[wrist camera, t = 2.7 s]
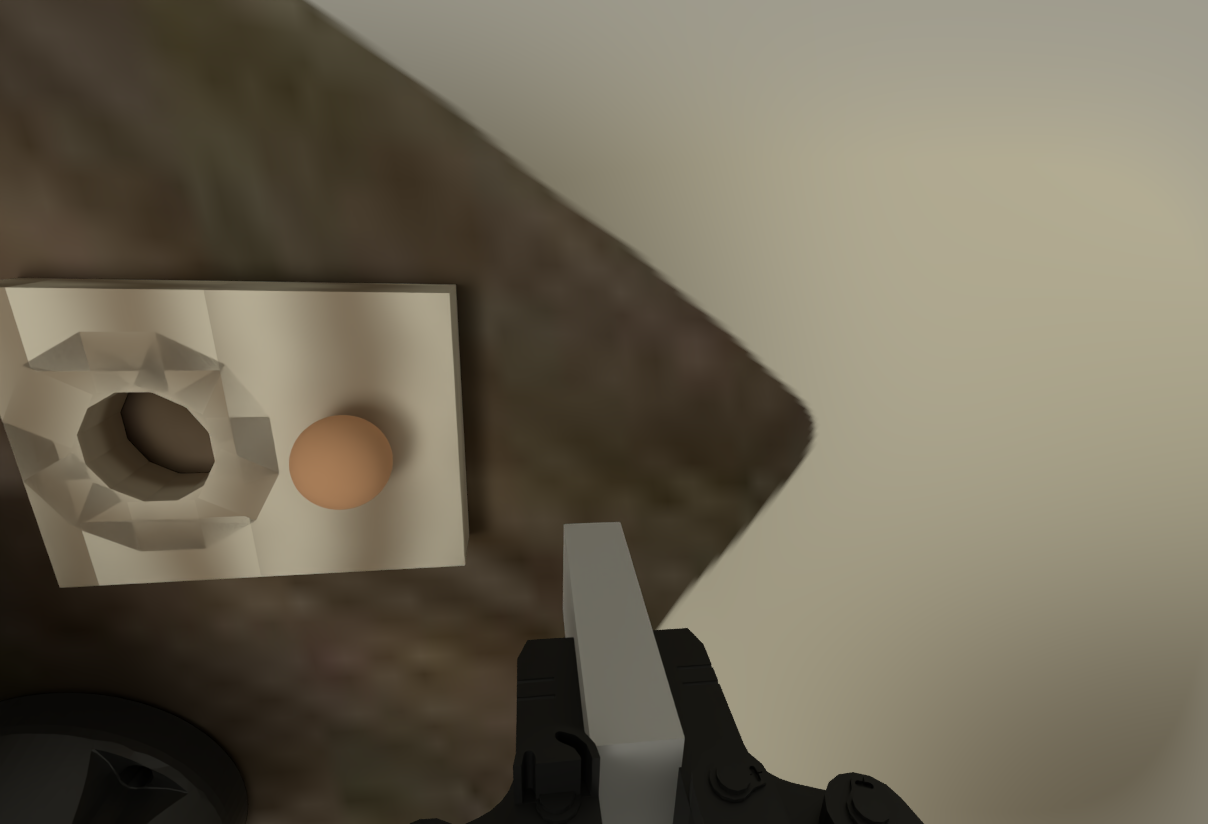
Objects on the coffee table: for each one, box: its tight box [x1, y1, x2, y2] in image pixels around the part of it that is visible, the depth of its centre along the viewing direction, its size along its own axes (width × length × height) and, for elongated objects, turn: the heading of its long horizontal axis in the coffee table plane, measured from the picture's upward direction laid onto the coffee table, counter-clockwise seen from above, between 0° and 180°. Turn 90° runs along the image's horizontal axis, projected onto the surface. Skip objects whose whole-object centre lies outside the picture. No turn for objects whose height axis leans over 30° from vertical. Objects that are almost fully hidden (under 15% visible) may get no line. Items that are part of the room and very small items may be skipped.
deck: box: [0, 278, 469, 588], centre depth 23 cm, size 16×12×2 cm
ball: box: [289, 415, 393, 510], centre depth 21 cm, size 4×4×4 cm
